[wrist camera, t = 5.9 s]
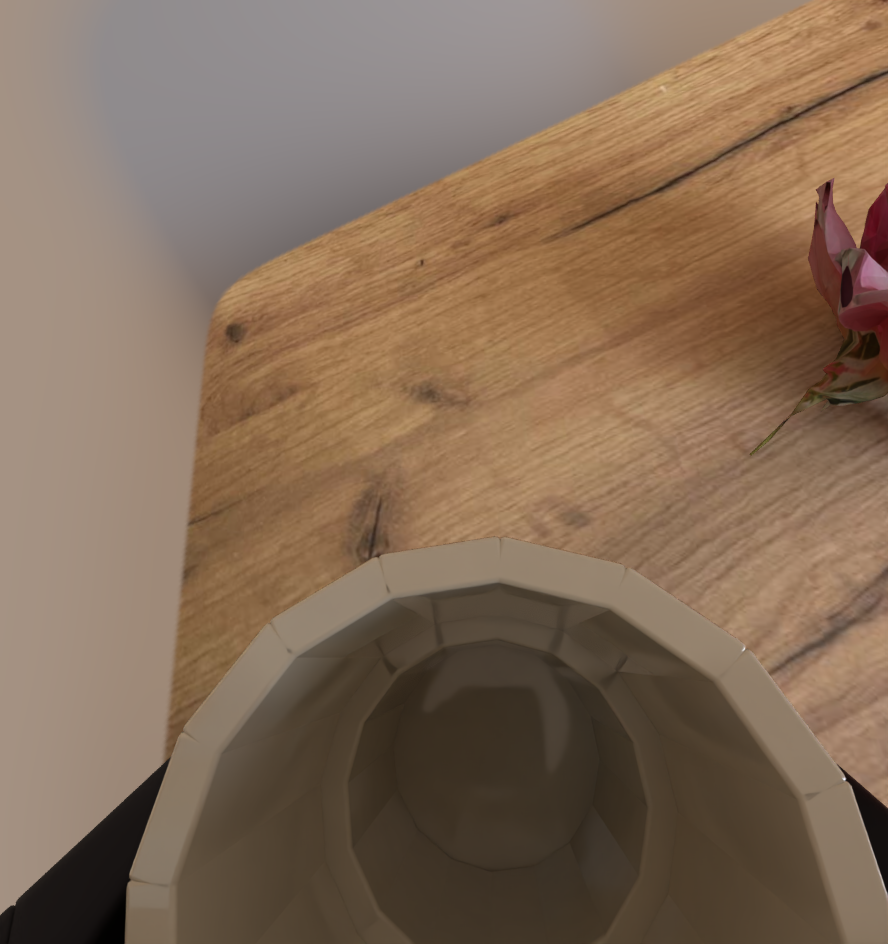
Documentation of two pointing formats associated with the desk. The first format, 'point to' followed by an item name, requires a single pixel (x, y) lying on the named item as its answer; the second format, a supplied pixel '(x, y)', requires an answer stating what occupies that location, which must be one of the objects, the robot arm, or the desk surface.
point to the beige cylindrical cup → (501, 774)
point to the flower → (851, 303)
